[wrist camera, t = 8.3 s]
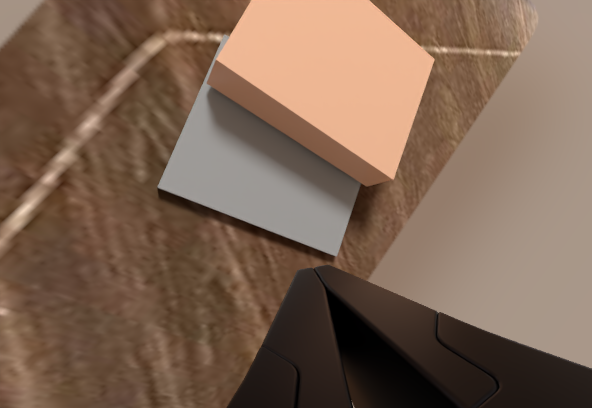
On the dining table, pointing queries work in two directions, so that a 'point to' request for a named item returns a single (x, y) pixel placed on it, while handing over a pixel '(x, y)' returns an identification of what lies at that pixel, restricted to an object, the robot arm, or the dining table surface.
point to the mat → (258, 173)
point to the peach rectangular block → (328, 79)
